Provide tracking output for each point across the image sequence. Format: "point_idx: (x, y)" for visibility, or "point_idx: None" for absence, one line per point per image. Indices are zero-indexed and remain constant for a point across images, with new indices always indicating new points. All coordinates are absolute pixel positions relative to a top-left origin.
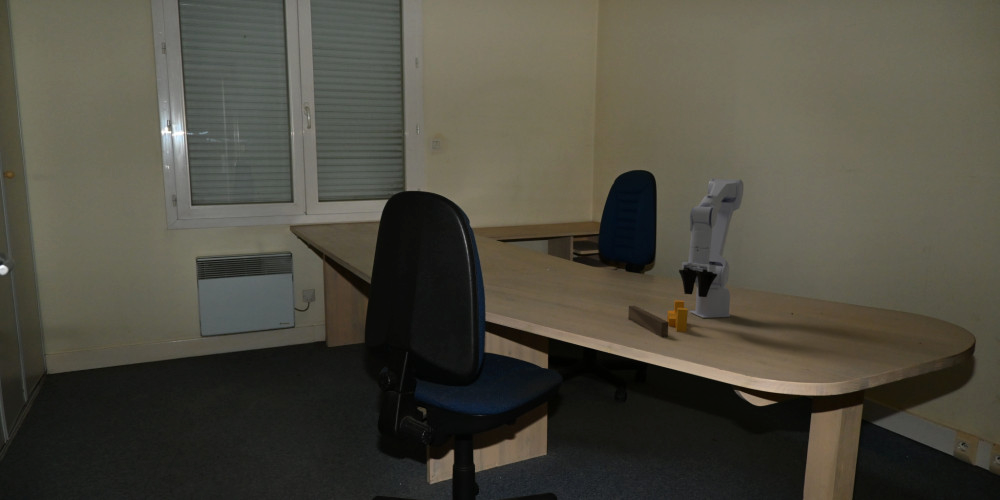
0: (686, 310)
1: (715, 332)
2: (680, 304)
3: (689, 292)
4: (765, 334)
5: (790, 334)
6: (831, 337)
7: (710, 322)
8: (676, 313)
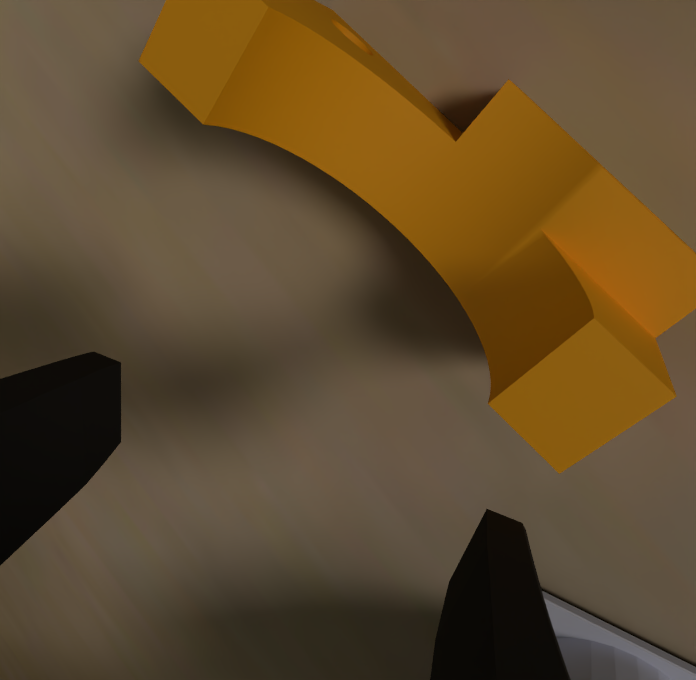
0: (151, 48)
1: (199, 297)
2: (526, 355)
3: (458, 577)
4: (90, 494)
5: (65, 577)
6: (4, 638)
7: (411, 514)
8: (526, 245)
